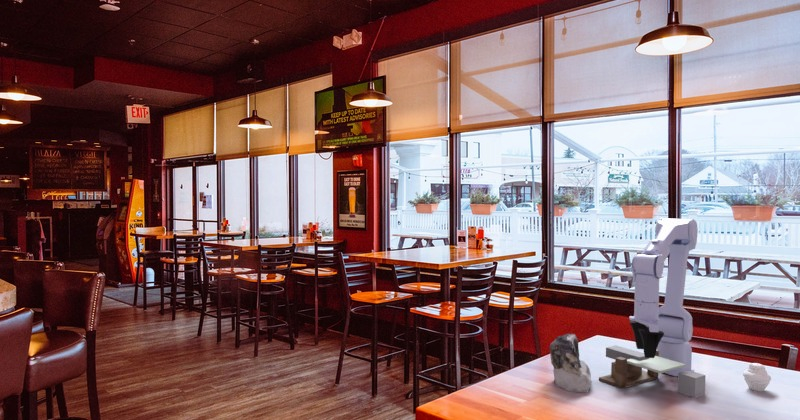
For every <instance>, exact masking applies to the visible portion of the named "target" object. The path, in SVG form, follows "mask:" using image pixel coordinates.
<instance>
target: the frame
mask: <svg viewBox="0 0 800 420" xmlns="http://www.w3.org/2000/svg"><path fill="white" fill-rule="evenodd" d="M655 356H658V357H659V351H656V354H655ZM614 360H615V361H612V362H611V369H610V370H611V372H610V374H607V375H603V376H599V377H598V381H600V382H603V383H605V384H608V385H611V386H614V387H616V388H619V389H624V388H627V387H631V386H636V385H639V384H642V383H646V382H649V381H653V380H657V379H659V373H657V372H654V371H651V370H648V369H646V370H647V371H645V370H643V368H641V367H637V366H634V365H631V364H628V363H627V359H626V358H623V357H617V358H615V359H614Z"/></svg>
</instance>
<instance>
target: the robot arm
mask: <svg viewBox="0 0 800 420" xmlns="http://www.w3.org/2000/svg"><path fill="white" fill-rule="evenodd" d="M698 229H699V228H698V223H697V221H696V220H695V219H694V218H691V219H689V218H688V219H687V218H666V217H665V218H664V217H659V218H658V219H657V221H656V224H655V235H656V236H655V239H654V238H653V239H652V240H649V242H648V243H647V244H646V246H645V247H644V249H643V251H642V252H641V253H637V255H634V256H633V257H632V260H631V267H630V268H631V273H632V282H633V283H634V301H633V302H634V309H633V311H634V312H633V316H632V315H630V316H629V317H628V318H629V319H628V320H629V324H630V326H631V328H632V332H633V336H634V341H635V345H636V349H638V350H643V353H644V355H645V357H646V358H654V357H655V354H656V351H659V357H662V358H665V359H669V360H672V361H676V362H679V363H683V364H685V367H682V368H678V369H674V370H671V371H667V372H663V373H662V374H666V375H669V376H673V377H678V373H680V372H683V371H687V370H689V371H693V372H695V369H693V368H692V353H693V350H692V345H691V344H690V343H689V341H691V340H692V337H693V331H694V327H693V317H692V314H691V313H690V312H689V311H688V310H686V309H685V308H684V307H683V306H684V297H685V287H686V278H687V277H686V276H687V268H688V267H687V266H688V258H689V253H690V251H693V250H695V249H696V246H697V242H698V232H699V231H698ZM668 257H669V258H668ZM667 258H668V267H667V277H666V284H665V285H666V286H665V295H664V303H663V305H661V306H660V303H659V302H660V278H661V277H662V275H663V274H664V268H665V262H666V260H667Z"/></svg>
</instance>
